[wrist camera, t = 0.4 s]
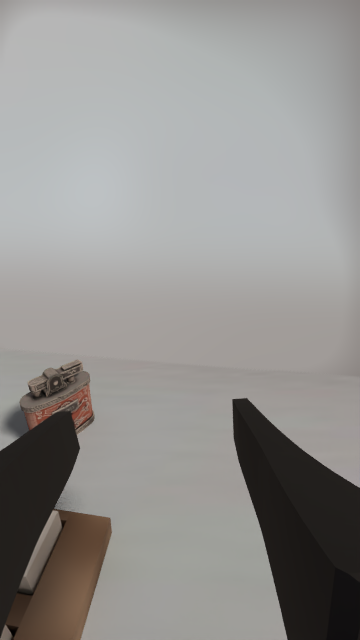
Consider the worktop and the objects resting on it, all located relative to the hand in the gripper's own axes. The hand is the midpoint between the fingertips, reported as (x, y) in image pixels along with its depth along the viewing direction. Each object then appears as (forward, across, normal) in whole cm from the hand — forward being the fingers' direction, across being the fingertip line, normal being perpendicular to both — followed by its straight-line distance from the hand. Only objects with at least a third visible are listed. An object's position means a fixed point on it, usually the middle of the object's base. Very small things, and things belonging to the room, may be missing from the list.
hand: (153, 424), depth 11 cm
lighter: (+18, +16, +15) cm, 28 cm away
